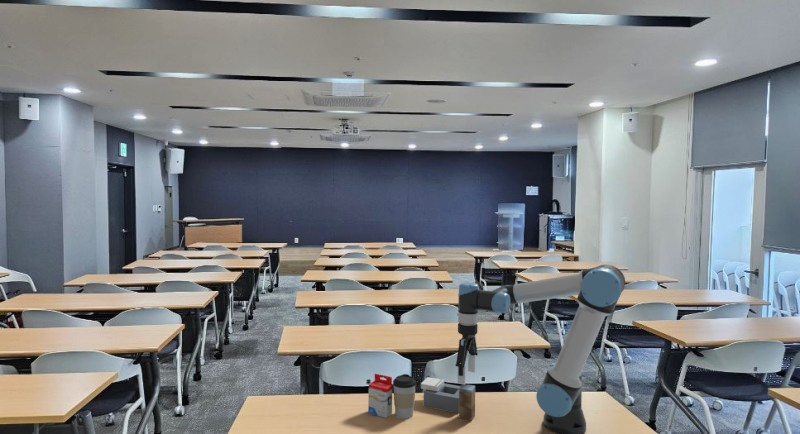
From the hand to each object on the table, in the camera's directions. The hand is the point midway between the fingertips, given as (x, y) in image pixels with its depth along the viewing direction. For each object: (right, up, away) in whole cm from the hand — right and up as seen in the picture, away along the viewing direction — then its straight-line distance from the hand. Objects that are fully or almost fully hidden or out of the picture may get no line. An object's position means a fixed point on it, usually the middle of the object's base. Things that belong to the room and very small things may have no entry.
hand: (466, 377), depth 179 cm
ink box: (-34, -16, +3) cm, 37 cm away
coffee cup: (-24, -16, +2) cm, 29 cm away
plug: (0, -16, 0) cm, 16 cm away
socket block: (-7, -15, +12) cm, 21 cm away
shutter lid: (-12, -9, +15) cm, 21 cm away
